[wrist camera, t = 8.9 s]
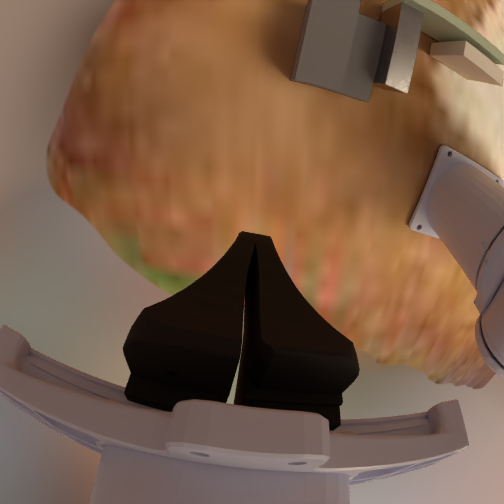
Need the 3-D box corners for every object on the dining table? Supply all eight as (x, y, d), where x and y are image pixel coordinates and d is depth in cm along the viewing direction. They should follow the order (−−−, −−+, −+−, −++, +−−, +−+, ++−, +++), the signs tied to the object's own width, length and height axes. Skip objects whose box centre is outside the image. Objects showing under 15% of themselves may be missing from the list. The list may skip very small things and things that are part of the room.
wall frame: (470, 67, 12) (510, 74, 8) (464, 84, 13) (504, 94, 9) (302, -30, 10) (310, -59, 6) (293, -12, 11) (300, -39, 7)
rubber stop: (375, 28, 12) (402, 18, 9) (359, 100, 16) (382, 106, 12) (306, 6, 12) (315, -14, 8) (289, 80, 16) (294, 79, 12)
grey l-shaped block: (469, 53, 11) (505, 55, 7) (453, 123, 15) (487, 138, 11) (382, 3, 11) (410, -11, 7) (366, 82, 15) (392, 84, 11)
